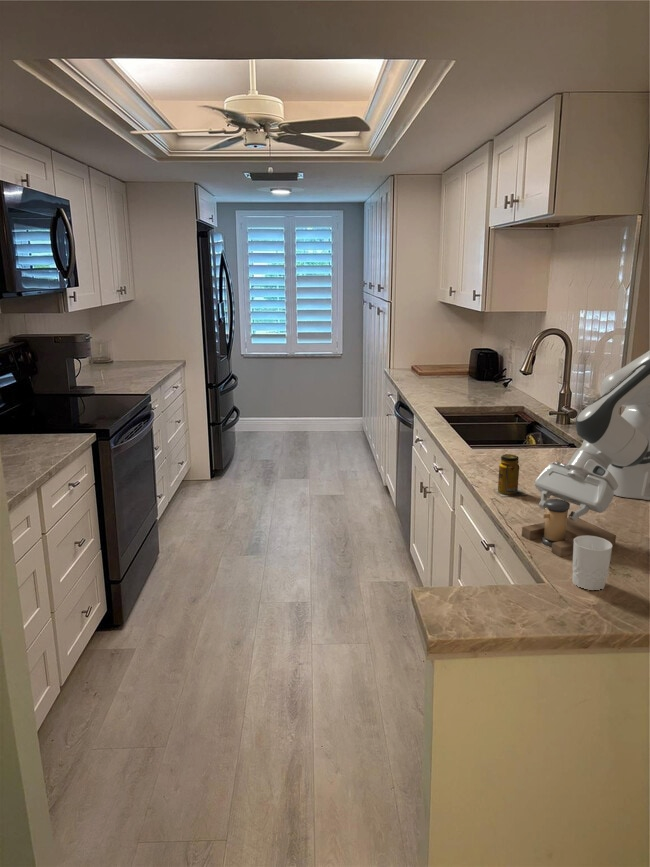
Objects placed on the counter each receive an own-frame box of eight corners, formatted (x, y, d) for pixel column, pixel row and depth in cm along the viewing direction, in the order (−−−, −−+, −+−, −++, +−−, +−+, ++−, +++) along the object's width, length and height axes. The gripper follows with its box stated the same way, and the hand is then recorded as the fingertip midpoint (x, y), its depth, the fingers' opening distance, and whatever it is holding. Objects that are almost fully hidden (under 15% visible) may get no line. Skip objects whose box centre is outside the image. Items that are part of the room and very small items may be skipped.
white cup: (615, 589, 137) (620, 547, 134) (585, 595, 135) (589, 552, 132) (591, 573, 144) (595, 533, 142) (562, 578, 142) (566, 537, 140)
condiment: (493, 489, 200) (495, 453, 197) (518, 488, 201) (521, 452, 198) (501, 497, 193) (504, 460, 190) (528, 496, 194) (530, 459, 191)
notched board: (574, 524, 172) (574, 516, 171) (615, 544, 159) (616, 535, 159) (521, 535, 165) (522, 526, 164) (560, 557, 153) (561, 547, 152)
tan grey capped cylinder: (554, 536, 164) (558, 497, 161) (571, 545, 159) (575, 504, 156) (533, 541, 162) (536, 501, 159) (549, 550, 156) (553, 509, 154)
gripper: (546, 453, 169) (519, 494, 166) (615, 474, 152) (585, 520, 150) (556, 466, 172) (529, 507, 170) (624, 488, 155) (595, 533, 153)
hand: (556, 513), depth 160 cm, fingers open, 8 cm apart
